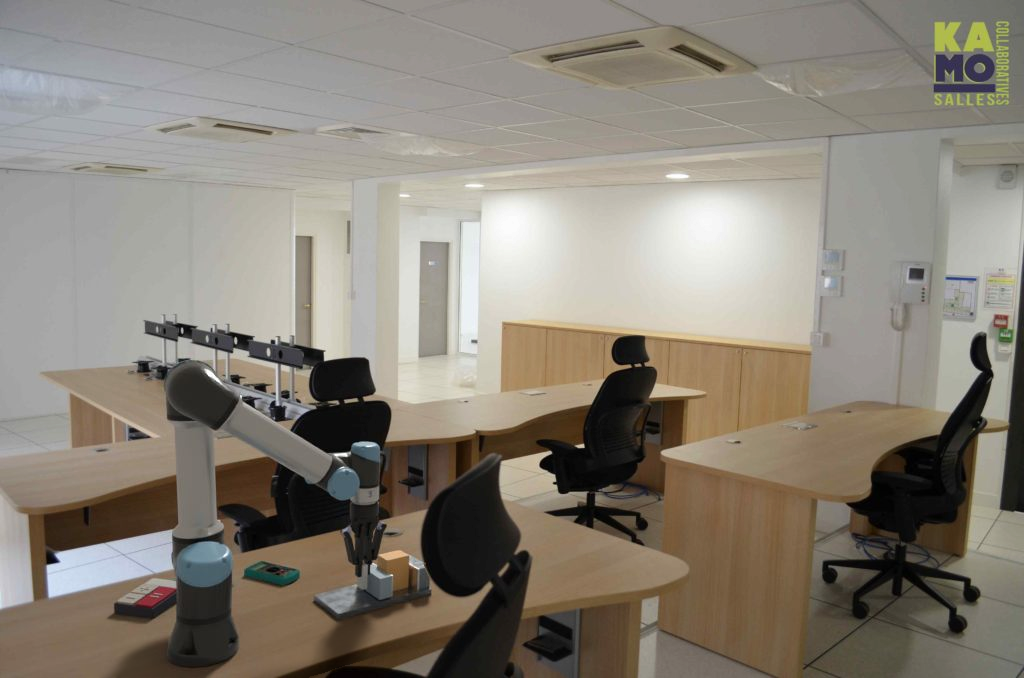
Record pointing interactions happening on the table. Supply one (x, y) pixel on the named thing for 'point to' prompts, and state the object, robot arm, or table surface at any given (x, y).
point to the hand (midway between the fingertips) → (362, 587)
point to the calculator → (148, 599)
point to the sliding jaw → (379, 582)
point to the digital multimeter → (272, 573)
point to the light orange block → (396, 567)
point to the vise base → (361, 601)
